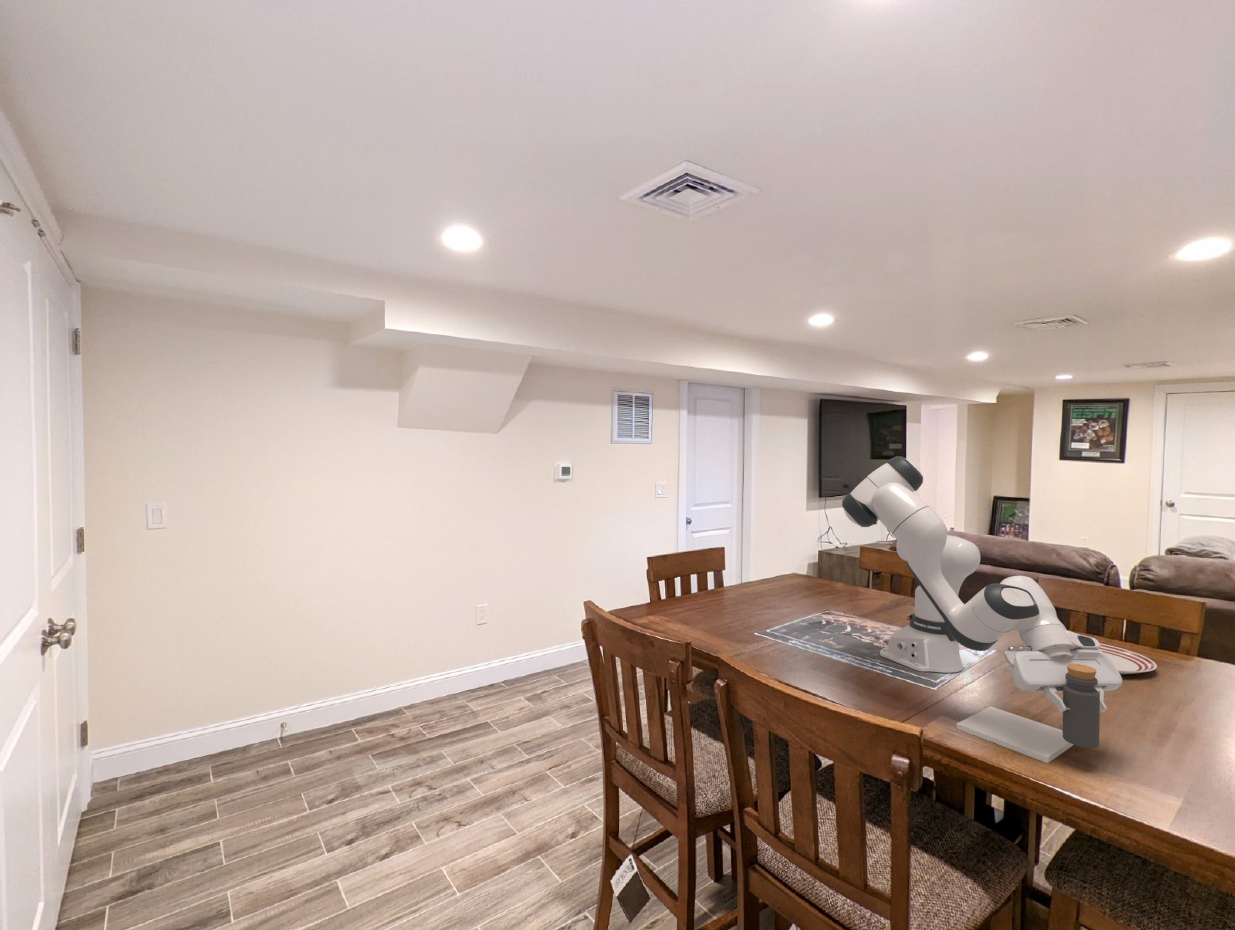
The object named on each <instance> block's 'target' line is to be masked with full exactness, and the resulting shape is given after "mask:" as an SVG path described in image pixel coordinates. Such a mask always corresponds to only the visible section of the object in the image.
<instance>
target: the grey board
mask: <svg viewBox="0 0 1235 930" xmlns="http://www.w3.org/2000/svg"><path fill="white" fill-rule="evenodd" d="M956 730H958V731H961V732H964V733H966V734H968V735H969V734H970V735H972V736H974V735H975V737H977V738H980V739H982V738H983V740H985V741H988V742H990V741H991V743H993V742H994V744H995V743H996V744H995V745H998V746H1001V747H1004V748H1007V749H1009V750H1011V751H1014V752H1017V753H1019V754H1022V755H1025V756H1027V757H1030V758H1033V759H1035V760H1039V761H1040V762H1044V763H1046V764H1049V763H1051V762H1052V761H1053V760H1055V759H1056V758H1057V757H1059V756H1060V755H1062V754H1063V753H1065V752H1066V751H1068V750H1069V749H1070V748H1071V747H1074V745H1073V744H1071V743H1069V742H1067V741H1066V740H1064V738H1063V729H1060V728H1056V727H1054V726H1051V725H1048V724H1045V723H1042V722H1039V721H1036V720H1034V719H1033V720H1032V719H1030V718H1027V717H1024V716H1021V715H1018V714H1015V713H1012V712H1009V711H1006V710H1002V709H999V708H997V707H994V706H988V707H986V708H984V709H982V710H980V711H979V712H976V713H975V714H973V715H970V716H968V717H966V718H965V719H963V720H960V721H959V722H957V723H956Z"/></svg>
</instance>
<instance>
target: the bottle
mask: <svg viewBox="0 0 1235 930" xmlns="http://www.w3.org/2000/svg"><path fill="white" fill-rule="evenodd" d="M1067 669H1068V673H1066V675H1065V678H1066V680H1068V681H1069V684H1066V685H1065V686H1063V691H1062V700H1063V701H1067V703H1068V705H1069V706H1070V707H1071V710H1070V711H1068V712H1062V730H1063V738H1064V740H1066V741H1067V742H1069V743H1071V744H1073V746H1077V747H1081V748H1086V749H1095V748H1098V747H1100V728H1101V727H1100V724H1101V723H1100V718H1101V717H1100V716H1101V712H1100V693H1099V692H1098V691H1097V690H1096V689H1095V688H1094V686H1096V685H1097V684H1098V680H1097V678H1095V675H1096V669H1094V668H1092V667H1090V666H1086V665H1081V664H1068V665H1067Z"/></svg>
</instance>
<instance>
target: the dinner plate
mask: <svg viewBox="0 0 1235 930" xmlns="http://www.w3.org/2000/svg"><path fill="white" fill-rule="evenodd" d="M1099 643H1100V642H1099ZM1098 650H1100V651H1102V652H1104V653H1105V654H1106V655H1107V656H1108V657H1109V658H1110V660H1111V661H1112V662H1113V664H1114V665H1115V667H1116V669H1117V670H1118V672H1119V673H1120V675H1130V674H1131V675H1132V674H1141V673H1142V674H1143V673H1147V672H1152V671H1155V670H1157V668H1158V665H1157V663H1156V662H1155V661H1154V660H1152V659H1150V658H1148V657H1147V656H1144V655H1143V654H1140V653H1137V652H1134V651H1132V650H1129V649H1125V648H1122V647H1117V646H1114V645H1109V644H1105V643H1100V648H1099V649H1098Z"/></svg>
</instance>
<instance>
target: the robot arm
mask: <svg viewBox="0 0 1235 930" xmlns="http://www.w3.org/2000/svg"><path fill="white" fill-rule="evenodd" d="M923 483H924V476H923V475H922V471H921V469H920V468H919V466H918V465H917V464H916V463H915V462H913V461H912V460H911V459H908V458H905V457H904V456H899V455H897V456H893V457H892V458H890V459H888V460H887V461H886V462H885V463H884V464H882V465H881V466H880V467H877V468H876V469H875V470H873V471H872V472H871V473H869V474H868V475H867V476H866V477H865V478H864V479H863V480H862V481H860V483H858V484H857V486H855V488H854V489H852V490H851V492H848V493H847V494H846V495H845V496H844V498H843V499H842V501H841V502H842V503H841V507H842V508H843V511H844V513H845V516H846V517H847V518H848V520H850V521H851V522H852V523H854V524H856V525H858V526H860V527H861V528H868V527H871V526H874V525H877V524H878V521H880V522H881V524H882V525H884V527H885V528H886V529H887V530H888V532H890V535H892V536H893V537H894V538H895V540H897V541H896V545H895V547H896V554H897V555H898V556H899V558H900V559H901V560H903V561H905V562H906V566H907V567H908V570H909V571H910V573H911V575H912V576H913V578H914V579H915V580H916V582H917V583H918V585H917V587H916V588H915V591H914V613H911V614H910V615H907V616H906V619H905V620H906V621H909V623H908V625H905V626H904V627H902V628H900V629H899V630H897V631H895V632H893V633H892V634H891V636H890V637H889V640H888V643H887V644H888V645H887V646H885V647H883V648H881V649H880V651H879V656H881V657H882V658H885V659H888V660H890V661H893V662H894V663H895V662H896V663H898V664H900V665H903V666H904V667H908V668H910V669H913V670H915V671H917V672H933V673H944V674H945V673H946V674H947V673H951V674H952V673H958V672H961V671H963V669H964V666H963V663H962V660H961V654H960V648H959V647H960V646H959V644H960V645H961V646H963V647H964V648H966V649H970V650H971V651H977V652H985V651H988V650H989V649H990V648H992V646H994V645H995V644H996V643H997V642H998V641H999V639H1001V638H1002V637H1004V636H1005V635H1007V633H1009V632H1010V631H1017V633H1018V635H1019V639H1020V640H1021V642H1022V643H1021V644H1023V645H1021V646H1013V645H1012V646H1008V647H1007V648H1006V649H1005V650H1004V654H1003V655H1004V658H1005V660H1006V662H1007V664H1008V665H1009V670H1010V672H1011V676H1012V679H1013V682H1014V684H1015V686H1016V688H1017V689H1019V690H1020V691H1022V692H1043V694H1044V696H1045V697H1046V698H1047V699H1048V700H1049V701H1050V702H1051V703H1053V704H1054V705H1055V706H1056V709H1057V710H1058V711H1059V713H1063V712H1068V711H1070V710H1071V707H1070V706H1069V705H1068V703H1067V701H1063V698H1061V697H1060V696H1059V695H1058V694H1057V692H1063V686H1065V685H1066V684H1069V681H1068V680H1066V678H1065V675H1066V673H1068V669H1067V665H1068V664H1081V665H1086V666H1090V667H1092V668H1094V669H1096V675H1095V678H1097V680H1098V684H1097V685H1096V686H1094V688H1095V689H1096V690H1097V691H1098V692H1099V693H1100V713H1105V712H1106V711H1107V710H1108V707H1107V705H1106V703H1105V702H1104V699H1105V698H1104V696H1105V692H1113V691H1115V690H1117V689H1119V688H1120V687H1121V686H1122V684H1123V677H1122V674H1120V673H1119V672H1118V670H1117V669H1116V667H1115V665H1114V664H1113V662H1112V661H1111V660H1110V658H1109V657H1108V656H1107V655H1106V654H1105V653H1104V652H1102V651H1100V650H1098V649H1099V648H1100V642H1099V640H1097V638H1095V637H1092V636H1086V635H1084V634H1079V633H1076V632H1073V631H1070V630H1067V628H1066V627H1065V625H1064V624H1063V622H1061V620H1060V619H1059V618H1058V615H1057V611H1056V608H1055V607H1054V605H1053V603H1052V602H1051V600H1050V598H1049V596H1048V595H1047V594H1046V592H1045V590H1044V589H1043V588H1042V587H1041V586H1040V585H1039V584H1038V582H1037V581H1035V580H1034V579H1033V578H1032V577H1029V576H1025V575H1014V576H1013V575H1012V576H1008V577H1006V578H1004V579H1002V581H1001V582H1000V583H996V582H995V583H990V584H988V585H986V586H985V587H984V588H982V589H981V590H980V591H978V592H977V593H975V595H973V597H972V598H971V599H969V600H968V601H967V602H966V603H964V602H963V601H962V600H961V599H960V597H959V593H960V589H961V587H962V584H963V582H964V581H965V579H966V578H967V577H969V576H970V575H972V574H973V573H975V571H976V570H977V569H978V568H979V566H980V564H981V553H980V549H979V547H978V546H977V545H976V544H975V543H973V542H971V541H969V540H967V539H965V538H962V537H959V536H956V535H950V534H948V531H947V526H946V524H945V522H944V520H943V519H942V518H941V516H940V515H939V514H938V513H937V512H936V511H935V510H934V509H933V508H932V507H931V506H930V505H928V504H927V502H925V501H924V500H923V499H922V498H921V497H920V496H919V495H917V494H916V493H915V492H917V491H918V490H919V489H920V488H921V486H922V485H923Z"/></svg>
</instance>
